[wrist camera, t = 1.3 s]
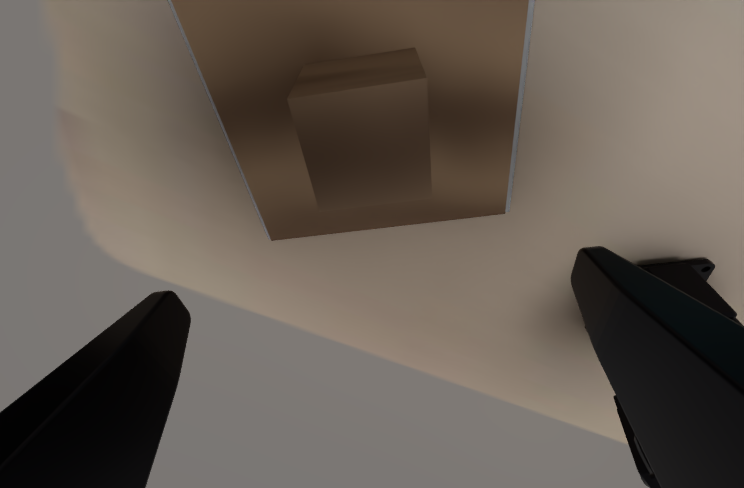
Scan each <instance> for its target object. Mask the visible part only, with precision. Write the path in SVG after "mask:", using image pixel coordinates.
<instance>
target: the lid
mask: <svg viewBox="0 0 744 488" xmlns="http://www.w3.org/2000/svg"><path fill="white" fill-rule="evenodd" d="M171 2H172V4H173V6H174V9H175V11H176V13H177V16H178V18H179V21H180V23H181V25H182V28H183V30H184V33H185V35H186V37H187V40H188V42H189V45H190V47H191V49H192V52H193V54H194V57H195V59H196V61H197V64H198V66H199V69H200V71H201V73H202V76H203V78H204V81H205V83H206V85H207V88H208V90H209V93H210V95H211V97H212V100H213V102H214V105H215V107H216V109H217V112H218V114H219V116H220V119H221V121H222V124H223V126H224V128H225V131H226V133H227V136H228V138H229V140H230V143H231V145H232V148H233V150H234V152H235V155H236V157H237V160H238V162H239V164H240V167H241V169H242V172H243V174H244V176H245V179H246V181H247V184H248V186H249V188H250V191H251V193H252V196H253V198H254V200H255V203H256V205H257V208H258V210H259V212H260V215H261V217H262V219H263V222H264V224H265V227H266V229H267V231H268V234H269V236H270V239H271V241H273V240H282V239H290V238H299V237H308V236H316V235H325V234H334V233H342V232H351V231H359V230H368V229H377V228H385V227H394V226H403V225H411V224H420V223H429V222H437V221H446V220H455V219H463V218H472V217H481V216H489V215H498V214H505V210H506V201H507V192H508V183H509V174H510V165H511V156H512V147H513V138H514V129H515V120H516V111H517V102H518V93H519V84H520V75H521V66H522V57H523V48H524V40H525V31H526V22H527V13H528V4H529V0H171Z"/></svg>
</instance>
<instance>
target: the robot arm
mask: <svg viewBox="0 0 744 488" xmlns="http://www.w3.org/2000/svg"><path fill="white" fill-rule="evenodd" d="M714 268H715V265H714V264H713V263H712V262H711V261H710V260H708V259H703V260H693V261H683V262H673V263H663V264H653V265H643V266H636V265H635V264H633V263H631V262H629V261H627V260H626V259H624V258H622V257H620V256H619V255H617V254H615V253H613V252H612V251H610V250H608V249H606V248H604V247H601V246H596V247H586V248H582V249H580V250H579V251H578V254H577V257H576V260H575V264H574V267H573V270H572V274H571V285H572V288H573V291H574V294H575V297H576V299H577V302H578V305H579V308H580V311H581V314H582V317H583V320H584V322H585V328H586V330H587V332H588V334H589V337H590V340H591V342H592V345H593V347H594V350H595V352H596V354H597V357H598V359H599V361H600V363H601V365H602V367H603V369H604V371H605V373H606V375H607V377H608V379H609V382H610V384H611V386H612V388H613V390H614V392H615V394H616V395H615V396H614V400H615V403H616V406H617V412H618V415H619V418H620V420H621V423H622V426H623V429H624V432H625V435H626V438H627V441H628V444H629V447H630V449H631V452H632V455H633V458H634V461H635V464H636V467H637V469H638V472H639V474H640V476H641V479H642V480H643V482H644V484H645V485H646V486H648V487H649V488H744V326H743V325H742V324H741V323H740V322H739V321H738V320H737V319H736V316H737V313H736V312H735V311H734V310H733V309H732V308H731V307H730V306H729V305H728V303H727V302H726V301H725V300H724V299H723V298H722V297H721V296H720V295H719V294H718V293H717V292H716V291H715V290H714V289H713V288H712V287H711V286H710V285H709V284H708V283H707V282H706V281H707V279H708V278H709V276H710V275H711V273H712V271H713V270H714ZM190 323H191V318H190V313H189V311H188V310H187V309H186V307H185V306H184V305H183V303H182V302H181V300H180V299H179V298H178V296H177V295H176V293H174V292H173V291H160V292H154V293H152V294H150V295H149V296H148V297H147V298H145V299H144V300H143V301H141V302H140V303H139V304H138V305H137V306H135V307H134V308H133V309H131V310H130V311H129V312H127V313H126V314H125V315H124V316H122V317H121V318H120V319H119V320H117V321H116V322H115V323H113V324H112V325H111V326H110V327H108V328H107V329H106V330H104V331H103V332H102V333H101V334H99V335H98V336H97V337H96V338H94V339H93V340H92V341H90V342H89V343H88V344H87V345H85V346H84V347H83V348H82V349H80V350H79V351H78V352H77V353H75V354H74V355H73V356H71V357H70V358H69V359H68V360H66V361H65V362H64V363H62V364H61V365H60V366H59V367H57V368H56V369H55V370H54V371H52V372H51V373H50V374H49V375H47V376H46V377H45V378H43V379H42V380H41V381H40V382H38V383H37V384H36V385H34V386H33V387H32V388H31V389H29V390H28V391H27V392H26V393H24V394H23V395H22V396H21V397H19V398H18V399H17V400H15V401H14V402H13V403H12V404H10V405H9V406H8V407H6V408H5V409H4V410H3V411H1V412H0V488H145V487H146V484H147V480H148V478H149V474H150V471H151V468H152V465H153V462H154V459H155V455H156V452H157V449H158V446H159V443H160V440H161V437H162V433H163V430H164V427H165V424H166V421H167V417H168V414H169V411H170V408H171V405H172V402H173V398H174V395H175V392H176V388H177V385H178V381H179V377H180V373H181V368H182V362H183V358H184V352H185V348H186V343H187V338H188V333H189V328H190Z"/></svg>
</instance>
